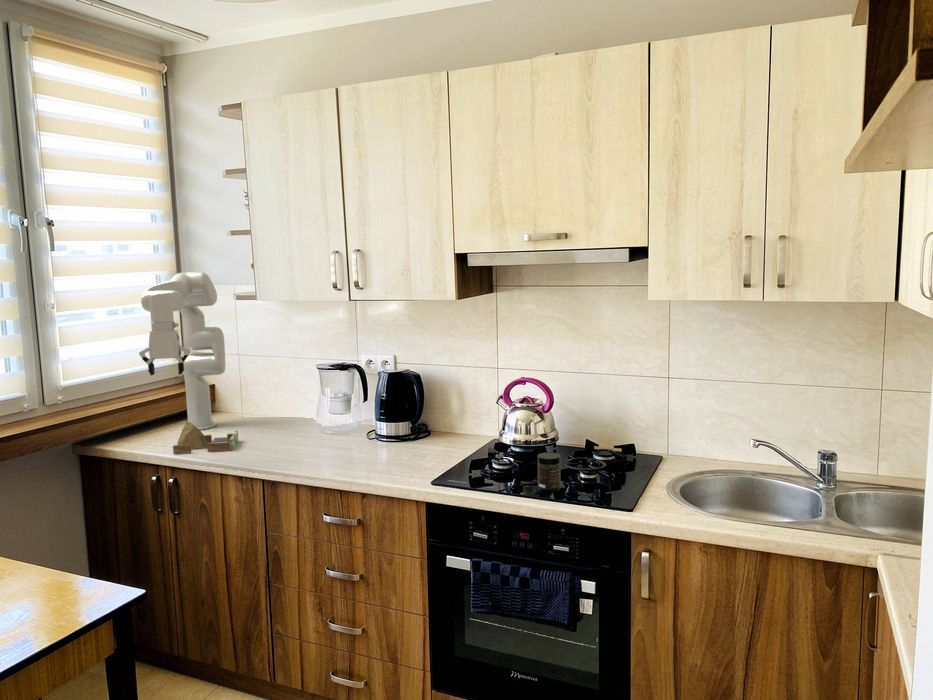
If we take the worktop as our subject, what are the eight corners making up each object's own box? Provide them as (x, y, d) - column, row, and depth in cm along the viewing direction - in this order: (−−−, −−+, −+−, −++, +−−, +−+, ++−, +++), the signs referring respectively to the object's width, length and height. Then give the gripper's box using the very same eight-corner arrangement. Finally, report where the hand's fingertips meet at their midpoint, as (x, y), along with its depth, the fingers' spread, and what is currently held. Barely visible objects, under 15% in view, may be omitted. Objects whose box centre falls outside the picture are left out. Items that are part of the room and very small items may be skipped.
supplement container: (565, 488, 214) (564, 455, 213) (551, 494, 209) (551, 460, 208) (546, 484, 219) (546, 451, 217) (533, 489, 214) (533, 456, 212)
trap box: (186, 440, 282) (185, 430, 281) (240, 436, 285) (240, 427, 284) (173, 454, 262) (172, 443, 261) (232, 450, 265) (231, 439, 265)
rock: (216, 439, 273) (198, 433, 277) (206, 425, 267) (187, 419, 271) (197, 461, 266) (179, 454, 271) (186, 447, 261) (168, 441, 265)
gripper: (190, 325, 258) (194, 371, 261) (140, 326, 256) (144, 373, 258) (186, 326, 251) (189, 374, 253) (134, 328, 248) (138, 377, 251)
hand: (166, 374), depth 256 cm, fingers open, 9 cm apart
